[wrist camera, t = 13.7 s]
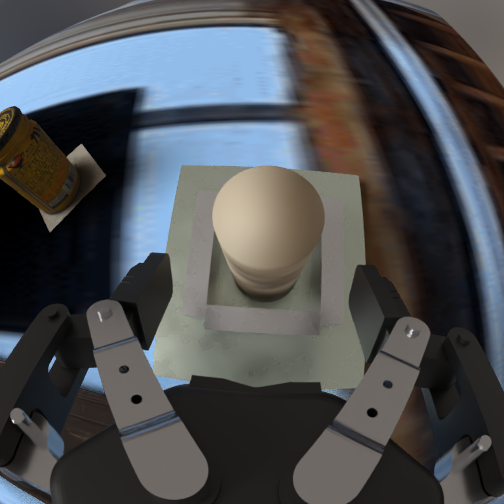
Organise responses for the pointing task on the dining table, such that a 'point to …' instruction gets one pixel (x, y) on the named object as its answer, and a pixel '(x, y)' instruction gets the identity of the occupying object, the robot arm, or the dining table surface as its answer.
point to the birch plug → (267, 229)
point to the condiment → (43, 167)
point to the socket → (254, 312)
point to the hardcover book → (77, 428)
